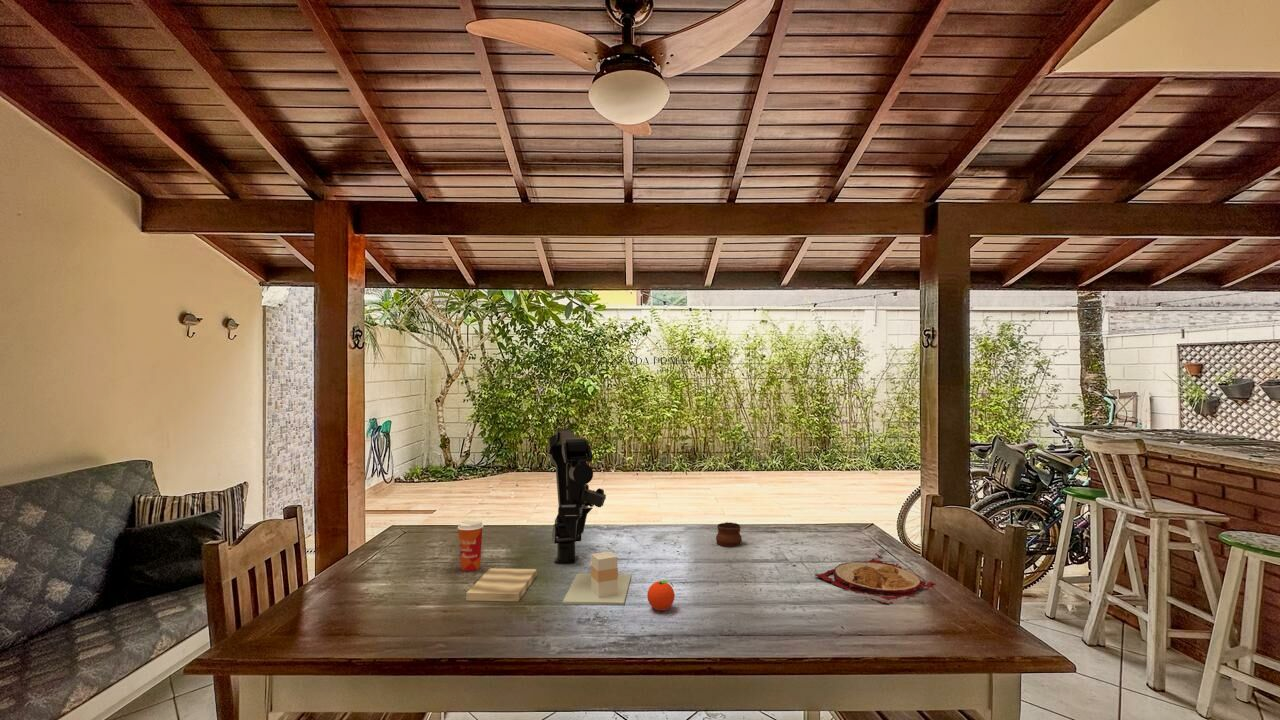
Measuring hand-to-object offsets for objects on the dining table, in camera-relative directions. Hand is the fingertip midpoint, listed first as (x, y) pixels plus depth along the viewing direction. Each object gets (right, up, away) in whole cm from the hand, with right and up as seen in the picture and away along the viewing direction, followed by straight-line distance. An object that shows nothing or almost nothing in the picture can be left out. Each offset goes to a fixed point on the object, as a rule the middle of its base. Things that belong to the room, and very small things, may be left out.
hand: (577, 535), depth 178 cm
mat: (+7, -12, -9) cm, 17 cm away
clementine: (+24, -12, -23) cm, 35 cm away
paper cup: (-34, -13, +10) cm, 38 cm away
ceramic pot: (+49, -13, +34) cm, 61 cm away
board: (-20, -12, -7) cm, 25 cm away
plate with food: (+86, -13, -5) cm, 87 cm away
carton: (+9, -12, -13) cm, 19 cm away
